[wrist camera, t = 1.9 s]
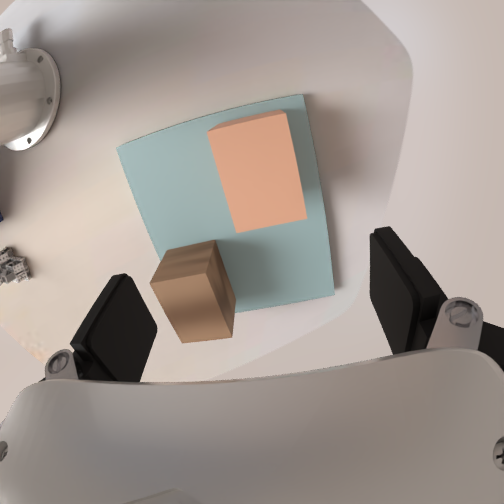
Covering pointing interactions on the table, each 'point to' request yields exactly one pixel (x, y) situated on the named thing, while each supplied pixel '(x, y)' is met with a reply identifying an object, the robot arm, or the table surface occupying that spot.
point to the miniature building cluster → (12, 267)
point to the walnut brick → (196, 292)
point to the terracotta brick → (258, 170)
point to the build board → (218, 214)
